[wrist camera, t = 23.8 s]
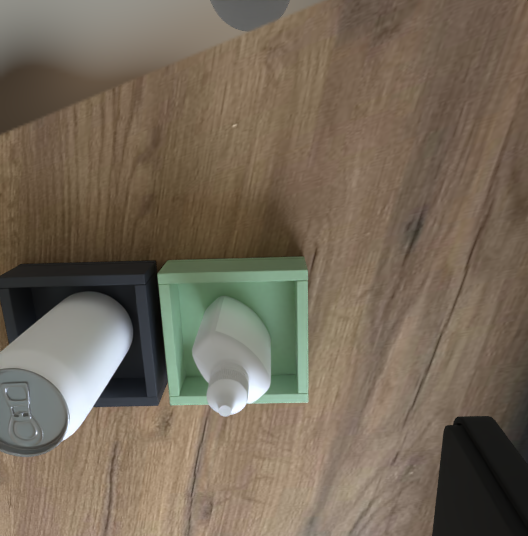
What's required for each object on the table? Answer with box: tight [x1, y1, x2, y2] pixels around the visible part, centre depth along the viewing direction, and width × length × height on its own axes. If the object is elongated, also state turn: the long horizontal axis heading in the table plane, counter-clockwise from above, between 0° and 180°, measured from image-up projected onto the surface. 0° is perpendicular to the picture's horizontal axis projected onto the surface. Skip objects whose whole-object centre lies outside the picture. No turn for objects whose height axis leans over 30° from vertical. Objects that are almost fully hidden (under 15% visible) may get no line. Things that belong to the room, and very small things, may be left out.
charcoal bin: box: [0, 260, 168, 407], centre depth 37 cm, size 11×11×4 cm
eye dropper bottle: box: [192, 296, 271, 416], centre depth 32 cm, size 4×6×12 cm
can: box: [0, 291, 133, 457], centre depth 32 cm, size 6×6×12 cm
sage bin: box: [157, 257, 308, 405], centre depth 36 cm, size 11×11×4 cm
